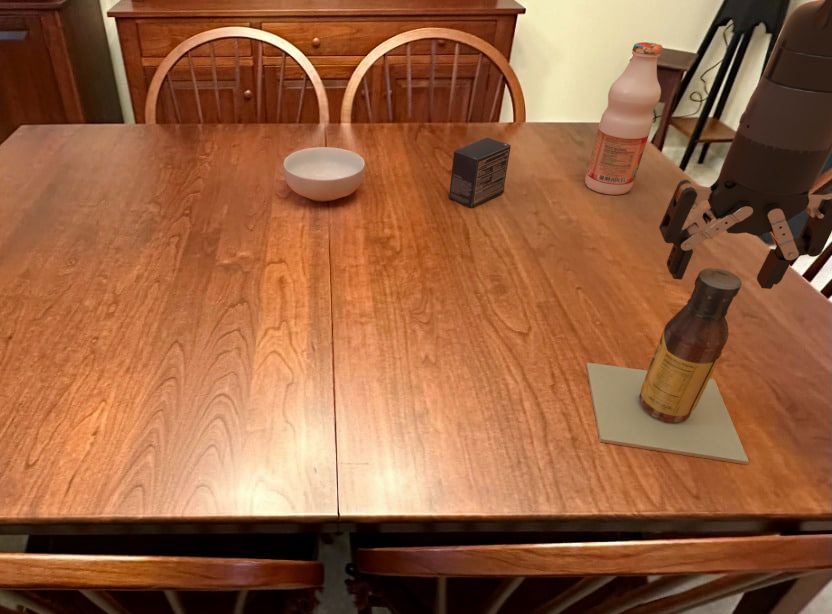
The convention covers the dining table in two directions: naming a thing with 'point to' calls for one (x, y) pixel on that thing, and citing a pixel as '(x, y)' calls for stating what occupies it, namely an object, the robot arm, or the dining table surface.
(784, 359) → the dining table surface
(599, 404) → the mat
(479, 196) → the small box
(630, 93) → the fruit juice
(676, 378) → the sauce bottle
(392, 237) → the dining table surface
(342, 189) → the cereal bowl
